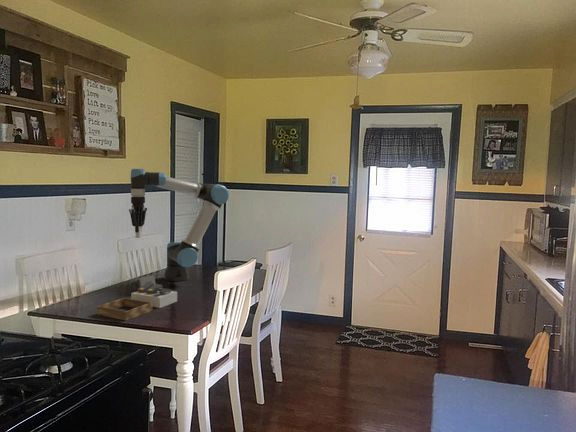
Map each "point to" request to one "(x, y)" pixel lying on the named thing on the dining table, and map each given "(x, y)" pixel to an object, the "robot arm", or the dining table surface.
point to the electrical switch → (146, 280)
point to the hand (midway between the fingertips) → (138, 237)
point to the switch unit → (156, 298)
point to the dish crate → (113, 312)
